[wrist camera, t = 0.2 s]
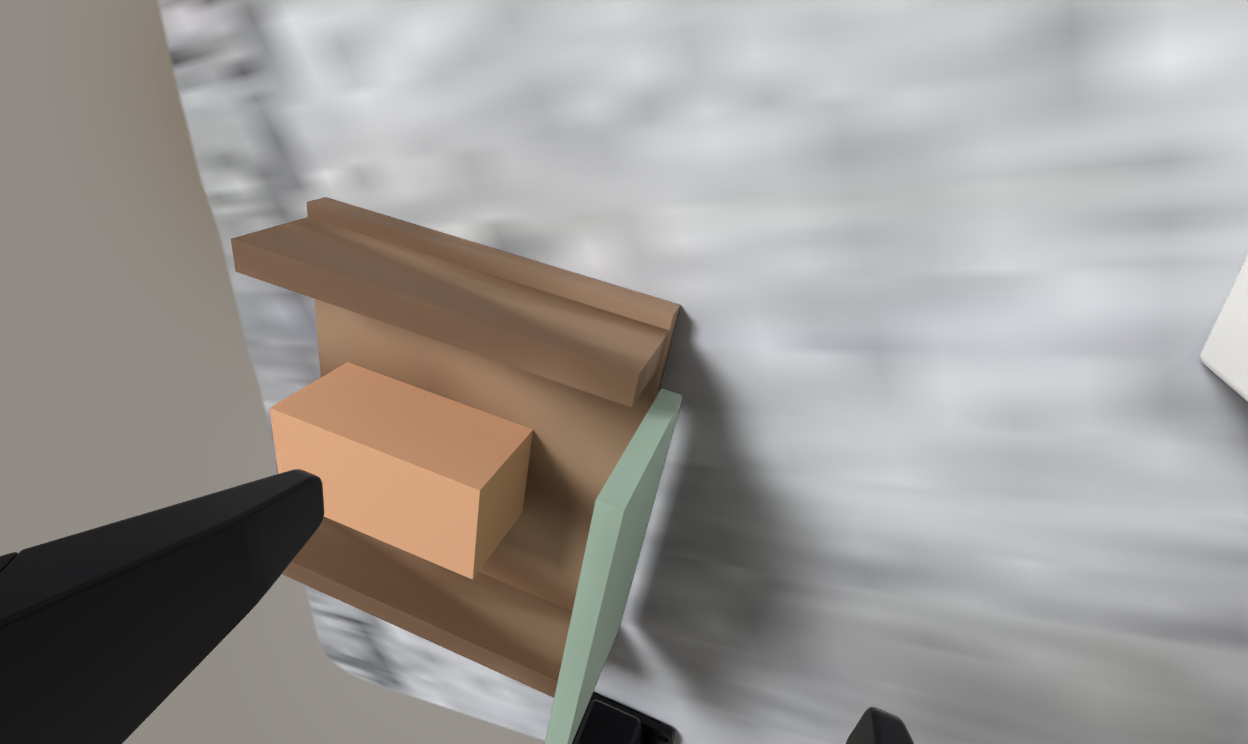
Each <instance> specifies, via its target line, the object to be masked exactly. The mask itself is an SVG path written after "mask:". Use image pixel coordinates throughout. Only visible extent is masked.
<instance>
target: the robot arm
mask: <svg viewBox="0 0 1248 744" xmlns="http://www.w3.org/2000/svg"><path fill="white" fill-rule="evenodd" d="M323 518H324V498H323V484H322V481H321V479H320V477H318V476H316V475H314V474H311V473H309V472H307V471H304V470H301V469H294V470H290V471H287V472H283V473H280V474H277V475H273V476H270V477H267V478H263V479H260V480H256V481H253V482H250V483H246V484H243V485H240V486H236V487H233V488H229V489H226V490H223V491H219V492H216V493H213V494H209V495H206V496H203V497H199V498H196V499H192V500H189V501H186V502H182V503H179V504H175V505H172V506H169V507H165V508H162V509H159V510H155V511H152V512H148V513H145V514H142V515H138V516H135V517H132V518H128V519H125V520H121V521H118V522H115V523H111V524H108V525H105V526H101V527H98V528H95V529H91V530H88V531H84V532H81V533H78V534H74V535H71V536H68V537H64V538H61V539H57V540H54V541H51V542H48V543H44V544H40V545H37V546H34V547H30V548H27V549H24V550H21V551H20V552H19V553H16V552H13V553H10V554H6V555H3V556H0V744H122V743H123V742H124V741H125V740H126V739H127V738H128V737H129V736H130V735H131V734H132V733H133V732H134V731H135V730H136V729H137V728H138V727H139V725H140V724H141V723H142V722H143V721H144V720H145V719H146V718H147V717H148V716H149V715H150V714H151V713H152V712H153V711H154V710H155V709H156V708H157V707H158V706H159V705H160V704H161V703H162V701H164V700H165V699H166V698H167V697H168V696H169V694H170V693H171V692H172V691H173V690H174V689H175V688H176V687H177V686H178V685H179V684H180V683H181V682H182V681H183V680H184V679H185V678H186V677H187V676H188V675H189V674H190V673H191V672H192V671H193V670H194V669H195V668H196V666H198V665H199V664H200V663H201V662H202V661H203V659H204V658H205V657H206V656H207V655H208V654H209V653H210V652H211V651H212V650H213V649H214V648H215V647H216V646H217V645H218V644H219V643H220V642H221V641H222V640H223V639H224V638H225V637H226V636H227V635H228V634H229V633H230V632H231V631H232V629H233V628H234V627H235V626H236V625H237V624H238V623H239V622H240V621H241V620H242V619H243V618H244V617H245V616H246V615H247V614H248V613H249V612H250V611H251V610H252V609H253V607H254V606H255V605H256V604H257V603H258V602H259V601H260V599H261V598H262V597H263V596H264V595H265V594H266V593H267V591H268V590H269V589H270V588H271V586H272V585H273V584H274V583H275V581H276V580H277V579H278V578H279V577H280V575H281V574H282V573H283V572H284V570H285V569H286V568H287V567H288V565H289V564H290V563H291V562H292V560H293V559H294V558H295V557H296V555H297V554H298V553H299V552H300V550H301V549H302V548H303V547H304V545H305V544H306V543H307V542H308V540H309V539H310V538H311V537H312V535H313V534H314V533H315V532H316V530H317V529H318V528H319V526H320V525H321V523H322V520H323ZM674 737H675V733H674V731H673V730H672V729H671V728H669V727H668V726H665V725H663V724H661V723H659V722H656V721H654V720H652V719H650V718H647V717H645V716H643V715H641V714H638V713H636V712H634V711H632V710H630V709H627V708H625V707H623V706H621V705H618V704H616V703H614V702H612V701H609V700H607V699H605V698H603V697H600V696H598V695H596V694H594V693H592V696H591V698H590V701H589V703H588V705H587V708H586V710H585V713H584V715H583V718H582V720H581V722H580V725H579V727H578V730H577V732H576V734H575V737H574V739H573V742H572V744H673V741H674ZM846 744H914V742H913V740H912V738H911V736H910V734H909V732H908V730H907V728H906V726H905V724H904V723H903V721H902V720H901V719H900V718H899V717H897V716H895V715H893V714H890V713H888V712H885V711H883V710H881V709H878V708H876V707H870V708H868V709H867V710H866V711H865V713H864V714H863V716H862V717H861V719H860V720H859V722H858V724H857V725H856V727H855V728H854V730H853V731H852V733H851V734H850V736H849V737H848V739H847V742H846Z"/></svg>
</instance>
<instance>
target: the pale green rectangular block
mask: <svg viewBox="0 0 1248 744" xmlns="http://www.w3.org/2000/svg"><path fill="white" fill-rule="evenodd" d="M682 398H683V395H680V394H677V393H674V392H671V391H668V390H665V389H662V388H661V390H660V392H659V393H658V395H657V397H656V399H655V400H654V402H653V404H652V405H651V407H650V409H649V410H648V412H647V414H646V416H645V417H644V419H643V421H642V422H641V424H640V426H639V427H638V429H637V431H636V432H635V434H634V436H633V438H632V439H631V441H630V443H629V444H628V446H627V448H626V449H625V451H624V453H623V455H622V456H621V458H620V460H619V461H618V463H617V465H616V466H615V468H614V470H613V471H612V473H611V475H610V477H609V478H608V480H607V482H606V483H605V485H604V487H603V488H602V490H601V492H600V494H599V495H598V497H597V499H596V501H595V506H594V511H593V516H592V520H591V525H590V530H589V535H588V540H587V544H586V549H585V554H584V559H583V563H582V568H581V573H580V578H579V583H578V587H577V592H576V597H575V602H574V606H573V611H572V616H571V621H570V626H569V630H568V635H567V640H566V645H565V649H564V654H563V659H562V664H561V669H560V673H559V678H558V683H557V688H556V692H555V697H554V702H553V707H552V712H551V716H550V721H549V726H548V731H547V735H546V740H545V744H572V742H573V739H574V737H575V734H576V732H577V730H578V727H579V725H580V722H581V720H582V718H583V715H584V713H585V710H586V708H587V705H588V703H589V701H590V698H591V696H592V693H593V691H594V689H595V686H596V684H597V681H598V679H599V676H600V674H601V672H602V669H603V667H604V664H605V662H606V660H607V657H608V655H609V652H610V650H611V647H612V645H613V643H614V640H615V638H616V635H617V633H618V631H619V628H620V624H621V621H622V617H623V613H624V610H625V606H626V602H627V599H628V595H629V591H630V588H631V584H632V580H633V577H634V573H635V569H636V566H637V562H638V558H639V555H640V551H641V547H642V544H643V540H644V537H645V533H646V529H647V526H648V522H649V518H650V515H651V511H652V507H653V504H654V500H655V496H656V493H657V489H658V485H659V482H660V478H661V474H662V471H663V467H664V463H665V460H666V456H667V452H668V449H669V445H670V442H671V438H672V434H673V431H674V427H675V423H676V420H677V416H678V412H679V409H680V405H681V401H682Z"/></svg>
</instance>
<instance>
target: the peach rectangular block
mask: <svg viewBox="0 0 1248 744" xmlns="http://www.w3.org/2000/svg"><path fill="white" fill-rule="evenodd" d="M270 414H271V421H272V429H273V436H274V443H275V451H276V458H277V466H278V473H279V474H280V473H283V472H287V471H290V470H294V469H301V470H304V471H307V472H309V473H311V474H314V475H316V476H318V477H320V479H321V481H322V484H323V498H324V517H327V518H329V519H331V520H334V521H336V522H338V523H341V524H343V525H345V526H348V527H350V528H352V529H355V530H357V531H360V532H362V533H364V534H367V535H369V536H371V537H374V538H376V539H378V540H381V541H383V542H385V543H388V544H390V545H392V546H395V547H397V548H400V549H402V550H404V551H407V552H409V553H411V554H414V555H416V556H418V557H421V558H423V559H425V560H428V561H430V562H432V563H435V564H437V565H439V566H442V567H444V568H447V569H449V570H451V571H454V572H456V573H458V574H461V575H463V576H465V577H468V578H470V579H472V580H473V578H474V577H475V576H476V574H477V573H478V572H479V570H480V569H481V568H482V566H483V565H484V564H485V562H486V561H487V559H488V558H489V557H490V555H491V554H492V553H493V551H494V550H495V549H496V547H497V546H498V545H499V543H500V542H501V540H502V539H503V538H504V536H505V535H506V534H507V532H508V531H509V530H510V528H511V527H512V526H513V524H514V523H515V521H516V520H517V519H518V517H519V516H520V515H521V513H522V511H523V503H524V496H525V488H526V480H527V473H528V465H529V457H530V450H531V442H532V434H533V429H530V428H528V427H525V426H522V425H519V424H517V423H514V422H511V421H508V420H506V419H503V418H500V417H497V416H495V415H492V414H489V413H486V412H483V411H481V410H478V409H475V408H472V407H470V406H467V405H464V404H461V403H459V402H456V401H453V400H450V399H448V398H445V397H442V396H439V395H437V394H434V393H431V392H428V391H426V390H423V389H420V388H417V387H415V386H412V385H409V384H406V383H404V382H401V381H398V380H395V379H393V378H390V377H387V376H384V375H382V374H379V373H376V372H373V371H371V370H368V369H365V368H362V367H360V366H357V365H354V364H351V363H349V362H347V363H345V364H343V365H342V366H340V367H338V368H337V369H335V370H333V371H332V372H330V373H328V374H326V375H325V376H323V377H321V378H320V379H318V380H316V381H315V382H313V383H311V384H310V385H308V386H306V387H304V388H303V389H301V390H299V391H298V392H296V393H294V394H293V395H291V396H289V397H288V398H286V399H284V400H282V401H281V402H279V403H277V404H276V405H274V406H272V407H271V408H270Z"/></svg>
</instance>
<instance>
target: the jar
mask: <svg viewBox="0 0 1248 744" xmlns="http://www.w3.org/2000/svg"><path fill="white" fill-rule="evenodd" d="M1200 359H1201V361H1202V363H1203V364H1204V365H1205V366H1207V367H1208V368H1209V369H1210V370H1211V371H1212V372H1214V373H1215V374H1216V375H1217V376H1218V377H1219V378H1221V379H1222V380H1223V381H1224V382H1225V383H1226V384H1228V385H1229V386H1230V387H1231V388H1232V389H1233V390H1235V391H1236V392H1237V393H1238V394H1239V395H1240V396H1242V397H1243V398H1244V399H1245V400H1246V401H1247V402H1248V254H1247V256H1246V258H1245V260H1244V262H1243V264H1242V267H1241V269H1240V271H1239V273H1238V275H1237V277H1236V279H1235V281H1234V283H1233V286H1232V288H1231V290H1230V292H1229V294H1228V296H1227V298H1226V300H1225V302H1224V305H1223V307H1222V309H1221V311H1220V313H1219V315H1218V317H1217V319H1216V322H1215V324H1214V326H1213V328H1212V330H1211V332H1210V334H1209V336H1208V338H1207V341H1206V343H1205V345H1204V347H1203V349H1202V351H1201V353H1200Z"/></svg>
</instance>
